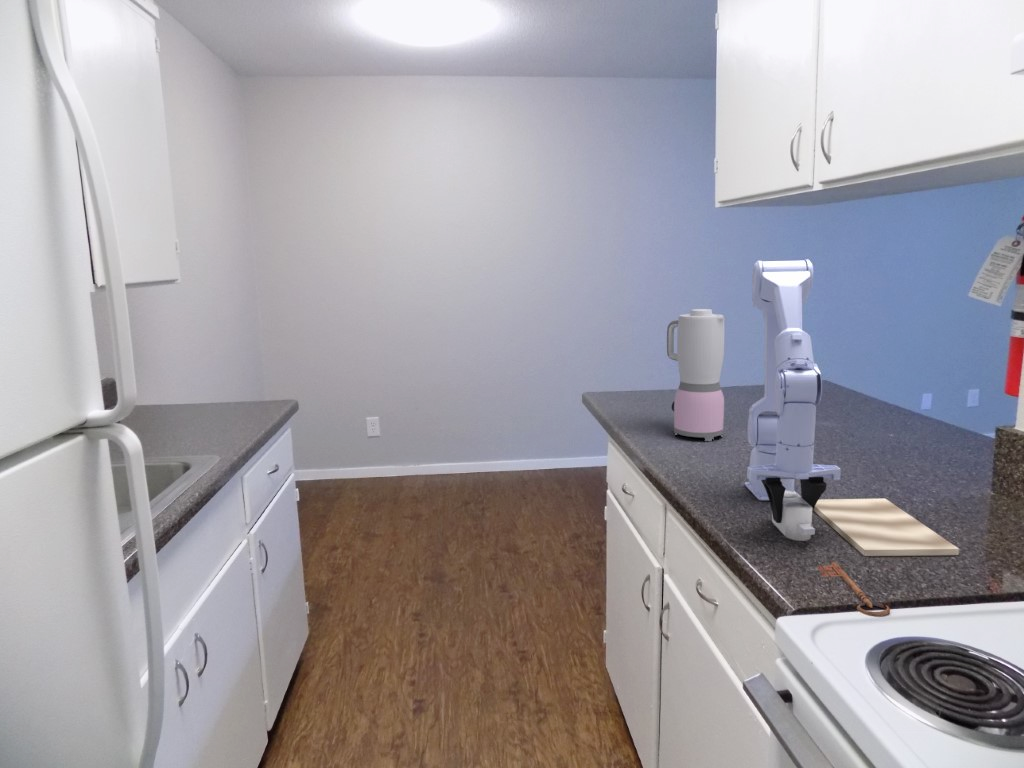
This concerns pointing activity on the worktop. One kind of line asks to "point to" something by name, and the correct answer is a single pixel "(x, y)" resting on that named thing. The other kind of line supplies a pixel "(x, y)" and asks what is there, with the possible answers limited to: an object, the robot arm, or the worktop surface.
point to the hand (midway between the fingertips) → (790, 520)
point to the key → (854, 588)
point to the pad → (881, 528)
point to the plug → (795, 518)
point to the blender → (698, 373)
